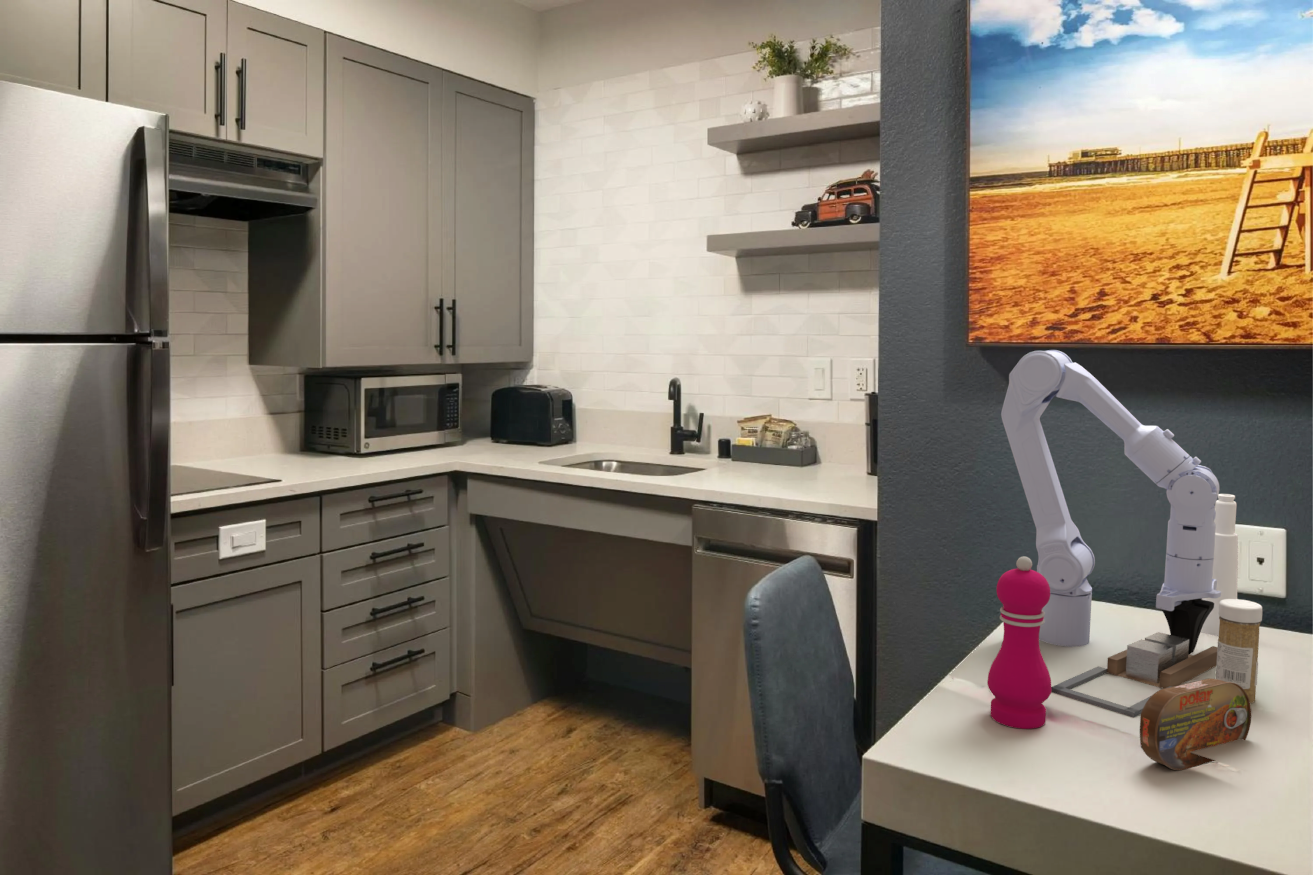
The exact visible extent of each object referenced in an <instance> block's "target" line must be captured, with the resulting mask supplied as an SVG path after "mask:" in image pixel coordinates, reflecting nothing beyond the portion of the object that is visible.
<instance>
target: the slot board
mask: <svg viewBox="0 0 1313 875" xmlns="http://www.w3.org/2000/svg"><path fill="white" fill-rule="evenodd" d="M1217 648H1218V646H1215V645H1212V646H1210V647H1209V648H1206V649H1204V650H1202V651H1200V652H1198V653H1196V654H1194V655H1192V654H1188V659H1186V660H1183V661H1181V662H1179V663H1177V664H1175V665H1173V666H1171V667H1169V668H1167V669H1165V670H1163V671H1161V672H1160V682H1159V683H1153V682H1150V681H1146V680H1143V679H1139V678H1135V677H1132V676H1128V675H1126V661H1127V649H1125V650H1122V651H1120V652H1118V653H1115V654H1113V655H1112V656H1108V657H1107V665H1106V666H1107V667H1106V668H1107V673H1106V674H1110V675H1115V676H1118V677H1121V678H1125V679H1128V680H1131V681H1136V682H1139V683H1143V684H1146V685H1150V686H1154V687H1157V688H1161V689H1165V688H1167V687H1169V686H1172V687H1174V686H1179V685H1183V684H1185V683H1186V682H1189V681H1190V680H1192V679H1194V678H1195V677H1198V676H1200V675H1201V674H1204V673H1205V672H1208V671H1209V670H1212V669H1213V668H1216V664H1217Z"/></svg>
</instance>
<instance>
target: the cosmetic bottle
mask: <svg viewBox="0 0 1313 875" xmlns="http://www.w3.org/2000/svg"><path fill="white" fill-rule="evenodd" d="M1234 500H1236V495H1234V494H1230V493H1219V494H1218V497H1217V501H1216V503H1215V504H1214V505H1215V511H1216V518H1215V520H1214V522H1215V524H1216V532H1215V548H1214V562H1213V577H1212V579H1216V580H1217V588H1216V590H1217V591H1220V592H1221V597H1219V598H1202V600H1206V601H1211V602H1213V603H1214V608H1213V610H1212V611H1211V612H1210V614H1209V615H1208V617H1207V619H1206V620H1205V622H1204V624H1203V627H1202V629H1201V632H1200V634H1206V635H1210V636H1214V637H1218V638H1219V625H1220V619H1219V614H1218V613H1219V603H1220V601H1221V600H1224V599H1238V569H1239V568H1238V564H1239V561H1238V558H1239V554H1238V553H1239V552H1238V551H1239V550H1238V549H1239V542H1238V541H1239V537H1238V536H1239V535H1238V533H1236V522H1237V521H1236V519H1237V517H1236V516H1237V502H1236V501H1234Z"/></svg>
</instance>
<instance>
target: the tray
mask: <svg viewBox="0 0 1313 875" xmlns="http://www.w3.org/2000/svg"><path fill="white" fill-rule="evenodd" d="M1105 674H1108V673H1107V667H1103V666H1099V665H1097V666H1096V667H1094V668H1091V669H1089V670H1086V671H1084V672H1082V673H1080V674H1077V675H1076V676H1073V677H1071V678H1068V679H1067V680H1064V681H1061V682H1059V683H1058V684H1055V685H1053V686H1052V685H1051V690H1052V691H1051V693H1054V694H1057V695H1061V696H1063V697H1067V698H1070V699H1074V700H1076V701H1080V702H1083V703H1086V704H1090V705H1093V706H1097V707H1099V708H1103V709H1106V710H1109V711H1112V712H1114V713H1115V712H1116V713H1118V714H1122V715H1125V716H1128V717H1132V718H1136V717H1138V716H1139V715H1140V716H1141V712H1142V710H1143V707H1144V706H1145V704H1146V702H1147V701H1148V699H1149V698H1150V697H1151V696H1152V695H1150V696H1148V697H1146V698H1144V699H1142V700H1140V701H1138V702H1136V703H1135V704H1133V705H1130V706H1126V705H1123V704H1119V703H1116V702H1113V701H1109V700H1107V699H1104V698H1099V697H1096V696H1093V695H1089V694H1086V693H1082V692H1079V691H1077V690H1073V689H1074V688H1076V687H1078V686H1081V685H1083V684H1085V683H1087V682H1089V681H1092V680H1094V679H1096V678H1099V677H1100V676H1103V675H1105ZM1170 687H1172V686H1169V687H1167V688H1170Z"/></svg>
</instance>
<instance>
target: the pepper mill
mask: <svg viewBox="0 0 1313 875" xmlns="http://www.w3.org/2000/svg"><path fill="white" fill-rule="evenodd" d="M1015 565H1016V568H1012V569H1010V570H1007V571H1005V572H1004V573H1002V574H1001V576H1000V577H999V579H998V580H997V584H996V595H997V598H998V601H1000V603H1001V604H1002V606H1001V607H1000V608H999V612H1000V615H999V620H1000V621H1002V623H1003V639H1002V643H1001V646H1000V649H999V651H998V652H997V654H996V656H995V658H994V659H993V661H992V663H991V665H990V669H989V671H988V675H987V687H988V689H989V691H990V693H991V694H992V695H993V696H994V698H992V699H991V700H990V712H989V713H990V717H991V718H992V719H993V720H994V721H995V722H996V723H998V724H1000V725H1003V726H1005V727H1010V728H1014V729H1022V730H1031V729H1038V728H1041V727H1043V726H1044V725H1045V724H1046V723H1047V722H1046V721H1047V720H1046V718H1047V707H1046V706H1045V705H1044V704H1043V703H1045V701H1047V700H1048V698H1049V697H1050V695H1051V694H1052V692H1051V691H1052V690H1051V687H1052V679H1051V675H1050V671H1049V669H1048V667H1047V664H1046V662H1045V660H1044V657H1043V654H1042V652H1041V647H1040V640H1039V631H1040V626H1041V625H1043V624H1044V622H1045V621H1044V616H1045V612H1044V611H1043V610H1042V608H1043V607H1044V606H1045V605H1046V604H1047V603H1048V601H1049V599H1050V587H1049V584H1048V582H1047V580H1046V578H1045V577H1044V576H1043V575H1041V574H1040V573H1038V572H1037V570H1033V569H1032V567H1033V561H1032V559H1031V558H1030V557H1028V556H1020V557H1018V559H1017V560H1016V563H1015Z"/></svg>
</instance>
